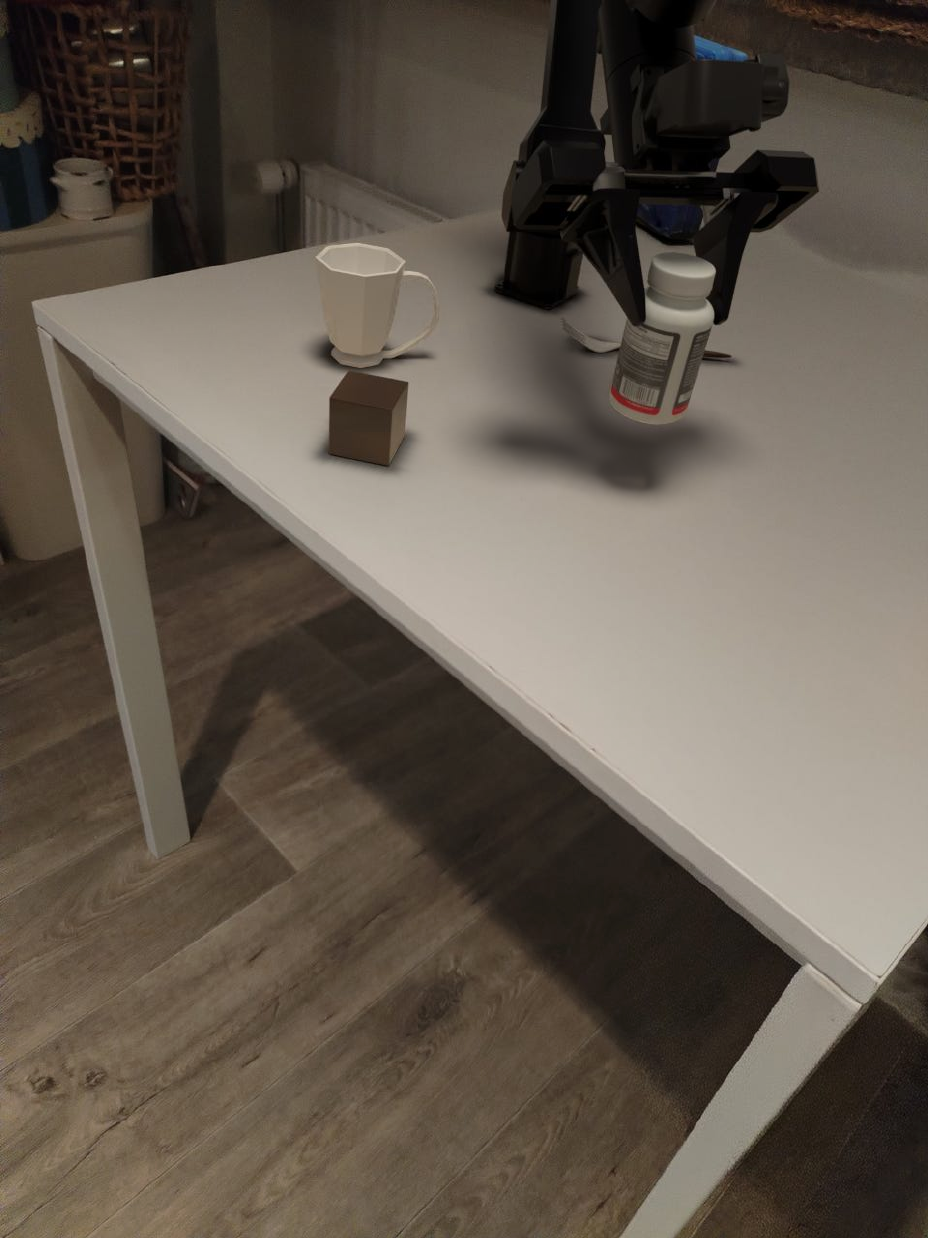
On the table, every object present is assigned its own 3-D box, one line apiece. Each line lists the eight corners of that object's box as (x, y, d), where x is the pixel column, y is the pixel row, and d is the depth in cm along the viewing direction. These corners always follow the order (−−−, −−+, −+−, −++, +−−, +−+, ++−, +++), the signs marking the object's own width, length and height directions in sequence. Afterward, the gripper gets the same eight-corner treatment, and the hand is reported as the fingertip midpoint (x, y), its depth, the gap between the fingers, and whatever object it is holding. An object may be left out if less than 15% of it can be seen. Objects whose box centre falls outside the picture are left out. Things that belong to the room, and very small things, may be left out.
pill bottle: (661, 385, 65) (700, 246, 58) (699, 423, 61) (745, 280, 54) (594, 390, 63) (626, 248, 56) (629, 430, 59) (667, 282, 53)
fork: (733, 368, 82) (739, 347, 80) (558, 349, 81) (562, 327, 79) (727, 355, 84) (733, 334, 82) (556, 336, 83) (560, 315, 81)
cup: (313, 336, 77) (312, 239, 72) (428, 339, 79) (436, 245, 74) (317, 374, 72) (318, 273, 67) (441, 376, 74) (450, 278, 69)
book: (603, 205, 114) (641, 18, 101) (639, 205, 116) (680, 21, 103) (665, 247, 105) (715, 46, 92) (702, 245, 107) (756, 48, 94)
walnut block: (328, 454, 63) (328, 397, 61) (347, 424, 67) (348, 369, 64) (388, 466, 63) (392, 409, 60) (404, 436, 66) (408, 381, 64)
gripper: (560, -30, 47) (595, 268, 46) (864, 0, 52) (897, 269, 51) (496, 100, 57) (524, 343, 57) (752, 114, 62) (779, 338, 62)
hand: (680, 323), depth 57 cm, fingers closed on pill bottle, 5 cm apart
